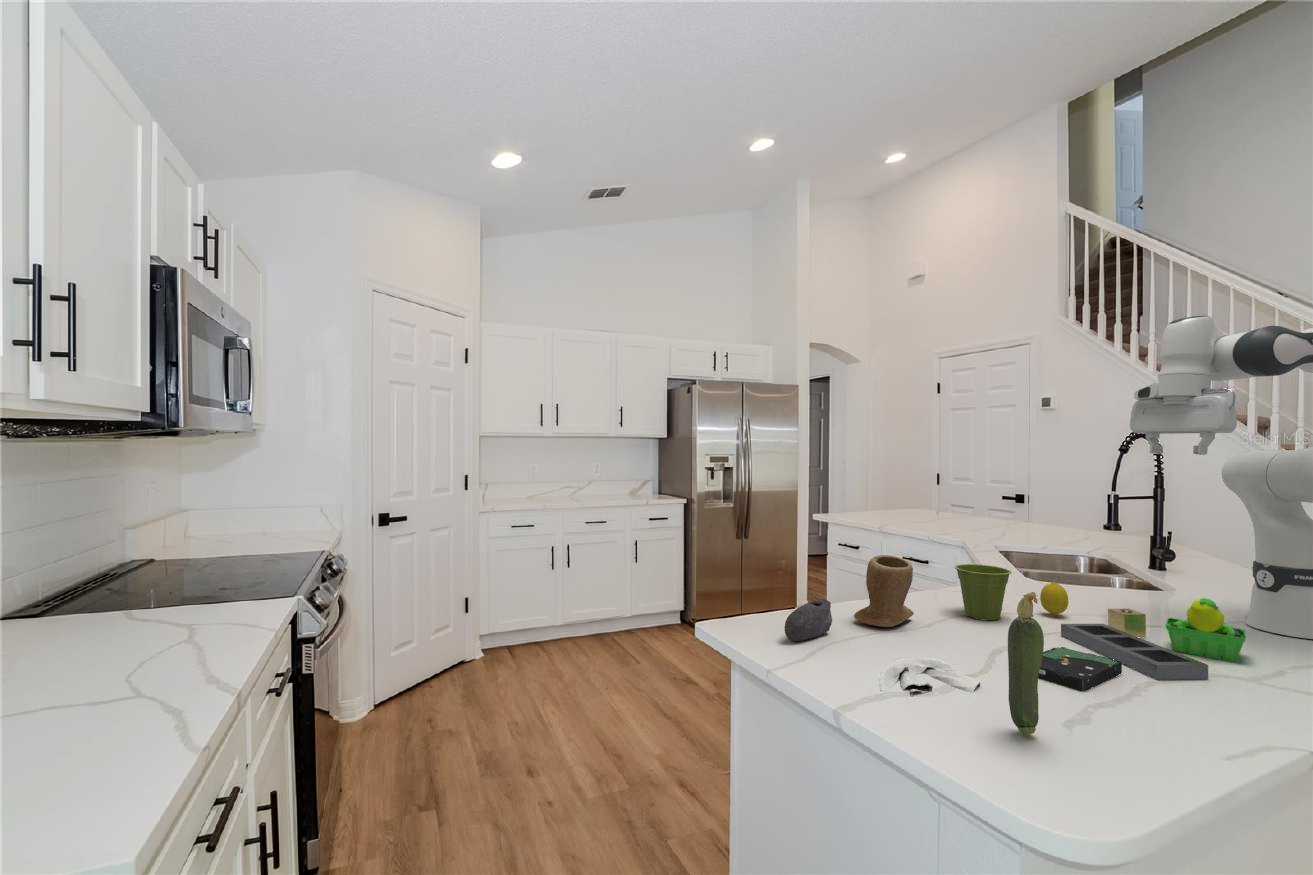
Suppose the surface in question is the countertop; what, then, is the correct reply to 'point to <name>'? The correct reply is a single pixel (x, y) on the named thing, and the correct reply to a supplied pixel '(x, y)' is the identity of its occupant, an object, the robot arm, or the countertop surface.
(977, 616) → the plant pot
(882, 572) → the stone cup
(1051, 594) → the lemon
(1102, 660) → the disk drive
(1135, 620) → the nut
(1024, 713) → the vegetable
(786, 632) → the perforated stone tool
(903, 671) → the cloth
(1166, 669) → the rail
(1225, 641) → the fruit basket
